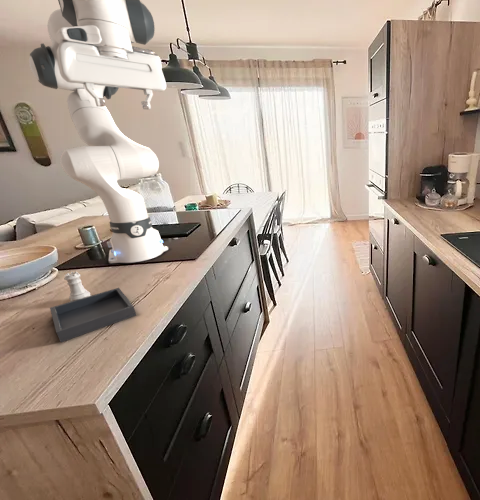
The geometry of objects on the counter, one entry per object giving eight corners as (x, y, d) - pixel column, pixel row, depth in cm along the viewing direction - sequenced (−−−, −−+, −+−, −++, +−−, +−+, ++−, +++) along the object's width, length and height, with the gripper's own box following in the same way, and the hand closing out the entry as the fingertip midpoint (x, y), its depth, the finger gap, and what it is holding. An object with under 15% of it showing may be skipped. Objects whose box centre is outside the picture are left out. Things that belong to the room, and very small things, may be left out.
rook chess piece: (96, 297, 79) (86, 271, 76) (77, 305, 75) (66, 278, 72) (85, 295, 80) (75, 269, 77) (66, 303, 76) (55, 275, 73)
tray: (53, 316, 70) (49, 307, 69) (121, 295, 80) (118, 287, 79) (60, 342, 61) (56, 332, 60) (136, 315, 70) (133, 306, 70)
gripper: (154, 53, 76) (167, 111, 81) (46, 34, 61) (69, 105, 66) (162, 48, 72) (175, 110, 77) (48, 26, 57) (73, 103, 62)
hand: (125, 108), depth 71 cm, fingers open, 8 cm apart
